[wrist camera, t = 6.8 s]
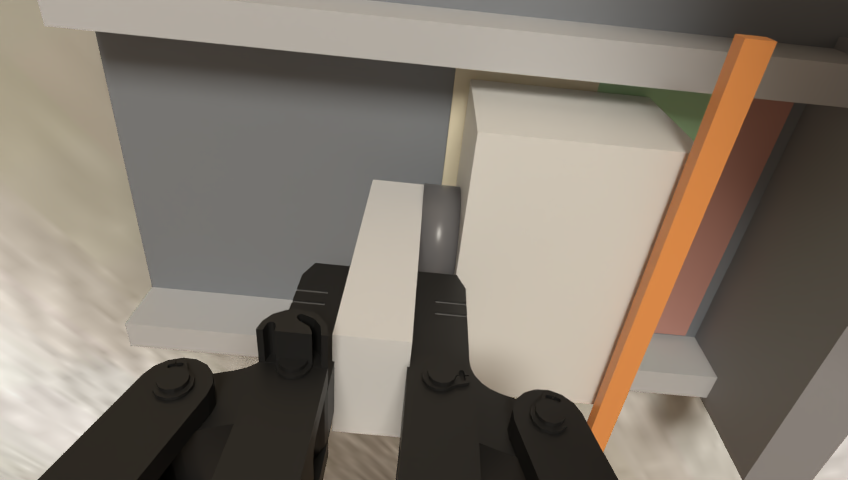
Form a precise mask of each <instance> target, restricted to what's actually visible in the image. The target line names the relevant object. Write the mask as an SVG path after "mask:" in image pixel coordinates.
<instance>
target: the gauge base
mask: <svg viewBox="0 0 848 480" xmlns="http://www.w3.org/2000/svg"><path fill="white" fill-rule="evenodd" d="M38 4H39V8H40V11H41V15H42V19H43V23H44V26H49V27H59V28H69V29H79V30H89V31H95V33H96V37H97V42H98V46H99V51H100V55H101V59H102V64H103V68H104V73H105V77H106V82H107V86H108V91H109V95H110V100H111V104H112V109H113V113H114V118H115V122H116V127H117V131H118V136H119V140H120V145H121V149H122V153H123V158H124V162H125V167H126V171H127V176H128V180H129V185H130V189H131V194H132V198H133V203H134V207H135V212H136V216H137V221H138V225H139V230H140V234H141V238H142V243H143V247H144V252H145V256H146V261H147V265H148V270H149V274H150V279H151V283H152V288H151V289H150V291H149V292H148V293H147V295H146V296H145V297H144V299H143V300H142V301H141V303H140V304H139V305H138V307H137V308H136V309H135V311H134V312H133V313H132V315H131V316H130V317H129V319H128V320H127V321H126V323H125V326H126V330H127V334H128V337H129V341H130V345H131V346H140V347H151V348H162V349H173V350H184V351H195V352H206V353H217V354H228V355H239V356H250V357H258V347H257V337H256V328H257V327H258V326H259V324H260V323H261V322H262V320H264V319H265V318H267V317H269V316H270V315H272V314H274V313H277V312H281V311H284V310H289V308H290V305H291V303H292V301H293V297H294V295H295V292H296V291H297V287H298V284H299V282H300V279H301V277H302V274H303V273H304V272H306V271H307V270H308V269H309V268H310V267H311V266H312V265H314V264H315V263H322V264H333V265H343V266H350V265H351V262H352V258H353V254H354V250H355V246H356V242H357V239H358V235H359V231H360V227H361V223H362V220H363V216H364V212H365V208H366V204H367V200H368V197H369V193H370V189H371V185H372V181H373V180H383V181H393V182H403V183H413V184H423V185H424V183H427V184H437V185H448V186H456V182H457V175H458V167H459V160H460V153H461V145H462V138H463V131H464V123H465V116H466V109H467V102H468V94H469V87H470V80H471V79H475V80H485V81H494V82H504V83H514V84H524V85H534V86H544V87H554V88H563V89H573V90H583V91H593V92H603V93H613V94H622V95H632V96H642V97H649V98H650V99H651V100H652V101H653V102H654V103H655V104H656V105H657V106H658V107H659V108H660V109H662V110H663V111H664V112H665V113H666V114H667V115H668V116H669V117H670V118H671V119H672V120H673V121H674V122H675V123H676V124H677V125H678V126H679V127H680V128H681V129H682V130H683V131H684V132H685V133H686V134H687V135H688V136H689V137H690V138H691V139H692V140H693V141H694V140H695V138H696V135H697V132H698V130H699V127H700V124H701V122H702V119H703V117H704V114H705V111H706V109H707V106H708V104H709V101H710V98H711V96H712V93H713V90H714V88H715V85H716V83H717V80H718V77H719V75H720V72H721V69H722V67H723V64H724V62H725V59H726V56H727V54H728V51H729V48H730V46H731V43H732V41H733V38H734V35H735V34H743V35H753V36H763V37H768V38H770V39H772V40H775V41H777V44H776V46H775V49H774V51H773V53H772V56H771V58H770V61H769V63H768V65H767V68H766V70H765V72H764V75H763V77H762V79H761V82H760V84H759V86H758V89H757V91H756V93H755V96H754V98H753V101H752V103H751V105H750V108H749V110H748V112H747V115H746V117H745V119H744V122H743V124H742V126H741V129H740V131H739V133H738V136H737V138H736V141H735V143H734V145H733V148H732V150H731V152H730V155H729V157H728V159H727V162H726V164H725V166H724V169H723V171H722V174H721V176H720V178H719V181H718V183H717V185H716V188H715V190H714V192H713V195H712V197H711V199H710V202H709V204H708V206H707V209H706V211H705V214H704V216H703V218H702V221H701V223H700V225H699V228H698V230H697V232H696V235H695V237H694V239H693V242H692V244H691V246H690V249H689V251H688V254H687V256H686V258H685V261H684V263H683V265H682V268H681V270H680V272H679V275H678V277H677V279H676V282H675V284H674V287H673V289H672V291H671V294H670V296H669V298H668V301H667V303H666V305H665V308H664V310H663V312H662V315H661V317H660V319H659V322H658V324H657V327H656V329H655V331H654V334H653V336H652V338H651V341H650V343H649V345H648V348H647V350H646V352H645V355H644V357H643V360H642V362H641V364H640V367H639V369H638V371H637V374H636V376H635V378H634V381H633V383H632V385H631V388H630V390H629V391H637V392H648V393H659V394H670V395H681V396H692V397H700V398H701V400H702V402H703V404H704V406H705V408H706V410H707V412H708V413H709V415H710V417H711V419H712V421H713V423H714V425H715V427H716V429H717V431H718V433H719V435H720V437H721V439H722V441H723V443H724V445H725V447H726V449H727V451H728V453H729V455H730V457H731V459H732V461H733V463H734V465H735V466H736V468H737V470H738V472H739V474H740V476H741V478H742V480H813V479H814V477H815V476H816V475H817V474H818V472H819V471H820V470H821V468H822V467H823V466H824V465H825V463H826V462H827V461H828V460H829V458H830V457H831V456H832V454H833V453H834V452H835V451H836V449H837V448H838V447H839V446H840V444H841V443H842V442H843V441H844V439H845V438H846V437H847V435H848V0H38Z"/></svg>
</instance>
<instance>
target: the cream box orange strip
mask: <svg viewBox="0 0 848 480" xmlns="http://www.w3.org/2000/svg"><path fill="white" fill-rule="evenodd" d="M776 44H777V41H775V40H772V39H770V38H768V37H763V36H753V35H743V34H735V35H734V38H733V41H732V43H731V46H730V48H729V51H728V54H727V56H726V59H725V62H724V64H723V67H722V69H721V72H720V75H719V77H718V80H717V83H716V85H715V88H714V90H713V93H712V96H711V98H710V101H709V104H708V106H707V109H706V111H705V114H704V117H703V119H702V122H701V124H700V127H699V130H698V132H697V135H696V138H695V140H694V141H693V140H692V139H691V138H690V137H689V136H688V135H687V134H686V133H685V132H684V131H683V130H682V129H681V128H680V127H679V126H678V125H677V124H676V123H675V122H674V121H673V120H672V119H671V118H670V117H669V116H668V115H667V114H666V113H665V112H664V111H663V110H662V109H660V108H659V107H658V106H657V105H656V104H655V103H654V102H653V101H652V100H651V99H650V98H649V97H642V96H632V95H622V94H613V93H603V92H593V91H583V90H573V89H563V88H554V87H544V86H534V85H524V84H514V83H504V82H494V81H485V80H475V79H471V80H470V87H469V94H468V102H467V109H466V116H465V123H464V131H463V138H462V145H461V153H460V160H459V167H458V175H457V182H456V186H448V185H437V184H427V183H424V192H423V205H422V220H421V234H420V247H419V260H418V271H419V272H430V273H440V274H450V275H457V276H458V278H459V279H460V281H461V282H462V284H463V285H464V287H465V288H466V306H467V323H468V343H469V361H470V366H471V369H472V371H473V373H474V375H475V376H476V377H477V378H478V379H479V381H480V382H481V383H483V384H484V385H485V386H487V387H488V388H490V389H492V390H494V391H496V392H498V393H500V394H503V395H506V396H509V397H519V396H521V395H522V394H523V393H524V392H527V391H531V390H534V389H540V390H550V391H553V392H556V393H558V394H561V395H563V396H564V397H566V398H567V399H569V400H570V401H572V402H575V403H586V404H594V405H593V408H592V410H591V413H590V415H589V418H588V421H587V424H588V425H589V427H590V429H591V431H592V433H593V434H594V436H595V438H596V440H597V442H598V444H599V445H600V447H601V449H602V451H604V449H605V447H606V444H607V442H608V440H609V437H610V435H611V432H612V430H613V428H614V425H615V423H616V421H617V418H618V416H619V414H620V411H621V409H622V407H623V404H624V402H625V400H626V397H627V395H628V392H629V390H630V388H631V385H632V383H633V381H634V378H635V376H636V374H637V371H638V369H639V367H640V364H641V362H642V360H643V357H644V355H645V352H646V350H647V348H648V345H649V343H650V341H651V338H652V336H653V334H654V331H655V329H656V327H657V324H658V322H659V319H660V317H661V315H662V312H663V310H664V308H665V305H666V303H667V301H668V298H669V296H670V294H671V291H672V289H673V287H674V284H675V282H676V279H677V277H678V275H679V272H680V270H681V268H682V265H683V263H684V261H685V258H686V256H687V254H688V251H689V249H690V246H691V244H692V242H693V239H694V237H695V235H696V232H697V230H698V228H699V225H700V223H701V221H702V218H703V216H704V214H705V211H706V209H707V206H708V204H709V202H710V199H711V197H712V195H713V192H714V190H715V188H716V185H717V183H718V181H719V178H720V176H721V174H722V171H723V169H724V166H725V164H726V162H727V159H728V157H729V155H730V152H731V150H732V148H733V145H734V143H735V141H736V138H737V136H738V133H739V131H740V129H741V126H742V124H743V122H744V119H745V117H746V115H747V112H748V110H749V108H750V105H751V103H752V101H753V98H754V96H755V93H756V91H757V89H758V86H759V84H760V82H761V79H762V77H763V75H764V72H765V70H766V68H767V65H768V63H769V61H770V58H771V56H772V53H773V51H774V49H775V46H776Z"/></svg>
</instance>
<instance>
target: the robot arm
mask: <svg viewBox="0 0 848 480" xmlns="http://www.w3.org/2000/svg"><path fill="white" fill-rule="evenodd" d="M423 192H424V185H423V184H413V183H403V182H393V181H383V180H373V181H372V185H371V189H370V193H369V197H368V200H367V204H366V208H365V212H364V216H363V220H362V223H361V227H360V231H359V235H358V239H357V242H356V246H355V250H354V254H353V258H352V262H351V265H350V266H343V265H333V264H322V263H315V264H314V265H312V266H311V267H310V268H309V269H308V270H307V271H306V272H304V273H303V274H302V277H301V279H300V282H299V284H298V287H297V291H296V292H295V295H294V297H293V301H292V303H291V305H290V308H289V310H284V311H281V312H277V313H274V314H272V315H270V316H269V317H267V318H265V319H264V320H262V322H261V323H260V324H259V326H258V327H257V328H256V337H257V347H258V358H259V362H258V363H256V364H254V365H252V366H249V367H247V368H243V369H239V370H235V371H228V372H222V373H215V374H213V373H212V371H211V370H210V368H209V367H208V365H206V364H205V363H203V362H201V361H199V360H197V359H189V358H179V359H172V360H168V361H165V362H163V363H160V364H158V365H155V366H153V367H152V368H151V369H149V370H148V371H147V372H145V373H144V374H143V375H142V376H141V377H140V378H139V379H138V380H137V381H136V382H135V383H134V384H133V385H132V386H131V387H130V388H129V389H128V390H127V391H126V392H125V393H124V394H123V395H122V396H121V397H120V398H119V399H118V400H117V401H116V402H115V403H114V404H113V405H112V406H111V407H110V408H109V409H108V410H107V411H106V412H105V413H104V414H103V415H102V416H101V417H100V418H99V419H98V420H97V421H96V422H95V423H94V424H93V425H92V426H91V427H90V428H89V429H88V430H87V431H86V432H85V433H84V434H83V435H82V436H81V437H80V438H79V439H78V440H77V441H76V442H75V443H74V444H73V445H72V446H71V447H70V448H69V449H68V450H67V451H66V452H65V453H64V454H63V455H62V456H61V457H60V458H59V459H58V460H57V461H56V462H55V463H54V464H53V465H52V466H51V467H50V468H49V469H48V470H47V471H46V472H45V473H44V474H43V475H42V476H41V477H40V478H39V479H38V480H323V477H324V472H325V467H326V462H327V458H328V437H329V432H330V428H331V423H332V431H336V432H347V433H358V434H369V435H380V436H391V437H400V445H399V455H398V464H397V473H396V480H618V478H617V476H616V475H615V473H614V471H613V469H612V467H611V465H610V464H609V462H608V460H607V458H606V456H605V455H604V453H603V451H602V449H601V447H600V445H599V444H598V442H597V440H596V438H595V436H594V434H593V433H592V431H591V429H590V427H589V425H588V424H587V422H586V420H585V418H584V416H583V414H582V413H581V412H580V410H579V409H578V408H577V407H576V405H575V404H574V403H573V402H572V401H570V400H569V399H567V398H566V397H564V396H563V395H561V394H558V393H556V392H553V391H550V390H540V389H534V390H531V391H527V392H524V393H523V394H522V395H521V396H519V397H518V398H517V399H514V398H511V397H509V396H506V395H503V394H500V393H498V392H496V391H494V390H492V389H490V388H488V387H487V386H485V385H484V384H483V383H481V382H480V381H479V379H478V378H477V377H476V376H475V375H474V373H473V371H472V369H471V366H470V361H469V343H468V323H467V306H466V288H465V287H464V285H463V284H462V282H461V281H460V279H459V278H458V276H457V275H450V274H440V273H430V272H419V271H418V260H419V247H420V234H421V220H422V205H423Z"/></svg>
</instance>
